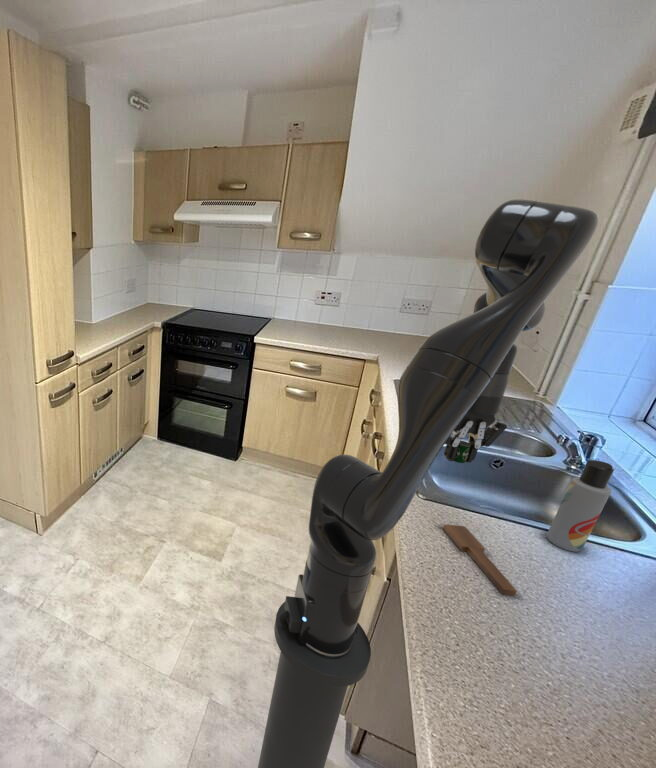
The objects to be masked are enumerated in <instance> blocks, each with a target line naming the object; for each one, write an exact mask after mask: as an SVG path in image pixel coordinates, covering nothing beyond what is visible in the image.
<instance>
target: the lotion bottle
mask: <svg viewBox="0 0 656 768" xmlns="http://www.w3.org/2000/svg"><path fill="white" fill-rule="evenodd" d="M614 471H615V469H614V467H613V465H612V464H610V463H608V462H605V461H603V460H595V459H589V460H588V461H586V464H585V466H584V468H583V470H582V472H581V474H580V476H575V477H573V478H572V479H571V481H570V483H569V485H568V487H567V489H566V492H565V494H564V496H563V498H562V500H561V502H560V504H559V507H558V509H557V511H556V513H555V516H554V517H553V520H552V522H551V524H550V527H549V528H548V531H547V532H546V533H547V534H546V538H547V540H548V541H549V542H550V543H552V544H553V545H555V547H558V548H561V549H563V550H566V551H569V552H575V553H576V552H581V551H582V550H583V548H584V547H585V546H586V544H587V541H588V539H589V537H590V536H591V533H592V531H593V529H594V528H595V526H596V524H597V521H598V519H599V517H600V515H601V513H602V511H603V509H604V507H605V505H606V504H607V502H608V500H609V497H610V495H611V493H612V489H611V488H610V487H609V486H608V484H609V481H610V479H611V478H612V476H613V473H614Z"/></svg>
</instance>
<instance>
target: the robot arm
mask: <svg viewBox="0 0 656 768" xmlns="http://www.w3.org/2000/svg"><path fill="white" fill-rule="evenodd" d="M598 222H599V219H598V214H597V213H596V212H595V211H593V210H590V209H587V208H584V207H579V206H573V205H566V204H560V203H553V202H546V201H538V200H531V199H523V198H521V199H520V198H519V199H517V198H516V199H509V200H507V201H504V202H503V203H501V204H499V205H498V206H497V207H496V208H495V209H494V210H493V211H492V212H491V214H490V215H489V216H488V218H487V220H486V221H485V223H484V224H483V226H482V228H481V229H480V232H479V234H478V235H477V239H476V241H475V243H474V249H473V251H474V252H473V256H474V261H475V263H476V265H477V267H478V269H479V272H480V274H481V275H482V277H483V279H484V281H485V283H486V292H484V293H482V294H481V295H480V296H479V297H478V298H476V301H475V302H474V305H473V311H472V312H473V313H471V314H469V315H466V316H465V317H462V318H460V319H458V320H456V321H454V322H451V323H450V324H448V325H446V326H444V327H442V328H440V329H438V330H436V331H435V332H434V333H432V334H430V335H429V336H428V337H427V338H426V339H425V340H424V341H423V342H422V343H421V344H420V346H419V348H418V350H416V352H415V354H414V355H413V357H412V358H411V360H410V361H409V362H408V364H407V366H406V367H405V369H404V370H403V372H402V373H401V376H400V377H399V381H398V387H397V412H398V436H397V440H396V445H395V448H394V450H393V452H392V455H391V457H390V458H389V460H388V463H387V464H386V465H385V468H384V469H383V470H382V471H380V470H378V469H377V468H375V467H374V466H371V465H370V464H368V463H366V462H365V461H363V460H361V459H359V458H358V457H356V456H353V455H351V454H338V455H335V456H333V457H332V458H330V459H329V460H328V461H326V463H325V464H324V465H323V466H322V467H321V469H320V470H319V472H318V475H317V477H316V480H315V483H314V486H313V491H312V496H311V505H310V511H309V519H308V527H307V528H308V536H309V538H310V541H309V545H308V551H307V556H306V560H305V566H304V570H303V574H300V573H299V575H298V577H297V581H296V586H295V592H294V596H289V595H286V596H285V600H284V602H285V605H284V608H285V612H284V613H282V614H281V615H280V618H279V620H280V623H281V624H282V626H283V627H284V628H287V627H288V626H289V631H290V632H294V633H295V634H296V639H297V643H298V645H299V646H304V647H306V648H308V649H309V650H310V651H312V652H313V653H315V654H317V655H319V656H322V657H325V658H331V659H337V658H342V657H344V656H346V655H347V654H348V653H349V652H350V650H351V647H352V643H353V638H354V634H355V631H356V634H357V630H358V627H357V623H359V620H360V615H361V613H362V609H363V605H364V601H365V597H366V594H367V590H368V587H369V583H370V580H371V576H372V574H373V570H374V566H375V561H376V559H377V551H376V550H377V549H376V546H375V544H374V542H373V541H377V540H380V539H381V538H383V537H385V536H386V535H388V534H389V533H390V532H391V531H392V530H393V529H394V528H395V527H396V525H397V524H398V523H399V522H400V520H401V519H402V518H403V516H404V515H405V513H406V511H407V510H408V508H409V506H410V505H411V503H412V501H413V499H414V498H415V496H416V495H417V492H418V490H419V489H420V486H421V485H422V483H423V482H424V479H425V478H426V476H427V475H428V472H429V470H430V469H431V467H432V466H433V464H434V462H435V460H436V458H437V457H438V455H439V453H440V452H441V450H442V449H443V447H444V446H445V448H444V452H443V456H444V457H445V459H446V460H448V462H455V461H454V459H455V456H456V453H457V450H458V447H457V446H458V445H459V443H460V441H462V440H464V439H465V437H467V436H466V435H467V434H468V438H467V439H468V440H467V442H468V443H469V444H470V445H471V446H470V451H469V454H468V457H467V460H466V462H465V463H467V464H468V463H469V464H470V463H472V462H473V461H475V459H476V457H477V453H478V450H479V449H480V448H482V447H486V448H487V447H488V448H489V447H491V445H492V444H493V443H494V442H496V440H497V439H498V438H499V437H500V436H501V435H502V433H504V432H505V430H506V429H507V428H508V426H507V424H505V423H504V422H502V421H501V420H499V419H496V415H497V414H498V412H499V410H500V407H501V403H502V401H503V398H504V395H505V392H506V390H507V387H508V384H509V379H510V374H511V371H512V368H513V365H514V363H515V360H516V357H517V354H518V346H517V345H516V344H515V342H516V340H517V339H518V338H519V336H520V334H522V332H526V331H529V330H532V329H534V328H536V327H538V326H539V324H540V323H541V322H542V320H543V318H544V316H545V312H546V304H545V301H546V300H547V298H548V297H549V296H550V294H552V292H553V291H554V290H555V288H556V287H557V286H558V285H559V284H560V282H561V281H562V280H563V278H564V277H565V276H566V274H567V273H568V272H569V270H570V269H571V268H572V267H573V265H574V264H575V263H576V261H577V260H578V259H579V258H580V256H581V255H582V253H583V252H584V251H585V249H586V248H587V246H588V245H589V243H590V242H591V240H592V239H593V236H594V235H595V232H596V229H597V227H598ZM286 618H287V622H288V624H287V622H286V621H285V619H286Z"/></svg>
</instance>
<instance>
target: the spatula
mask: <svg viewBox="0 0 656 768" xmlns="http://www.w3.org/2000/svg"><path fill="white" fill-rule="evenodd" d="M442 529H443V531H444V532H445V533H446V534H447V536H448V537H449V538H450V539H451V541H452V542H453V543H454V544H455V546H456V547H457V548H458V549H459V551H461V552H466V553H467V554H468V555H469V557H470V558H471V559H472V560H473V561H474V562H475V564H476V565H477V566H478V567H479V569H480V570H481V571H482V572H483V573H484V574H485V576H486V577H487V578H488V579H489V581H490V582H491V583H492V585H494V586H495V588H496V589H497V590H498V592H500V594H501V595H507V596H516V594H517V592H518V591H517V589H516V588H515V587H514V586H513V585H512V583H511V582H510V581H509V579H507V578H506V577H505V575H504V574H503V573H502V572H501V571H500V569H498V567H497V566H496V565H495V564H494V563H493V562H492V561H491V559H489V557H488V556H487V555H486V554H485V553H484V551H485V549H486V548H485V547H484V546H483V545H482V544H481V542H479V540H478V539H477V538H476V537H475V535H473V534H472V532H470V530H469V529H468V528H467V527H466V526H465V525H455V524H443V526H442Z"/></svg>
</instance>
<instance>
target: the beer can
mask: <svg viewBox="0 0 656 768" xmlns="http://www.w3.org/2000/svg"><path fill="white" fill-rule="evenodd" d="M470 446H471V445H470V444H469V443H468V441H465V440H461V441H460V443H459V445H458V446H457V447H458V450H457V453H456V456H455V459H454V461H453V462H455V463H458V464H466V463H467V462H466V460H467V457H468V454H469V451H470Z"/></svg>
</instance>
